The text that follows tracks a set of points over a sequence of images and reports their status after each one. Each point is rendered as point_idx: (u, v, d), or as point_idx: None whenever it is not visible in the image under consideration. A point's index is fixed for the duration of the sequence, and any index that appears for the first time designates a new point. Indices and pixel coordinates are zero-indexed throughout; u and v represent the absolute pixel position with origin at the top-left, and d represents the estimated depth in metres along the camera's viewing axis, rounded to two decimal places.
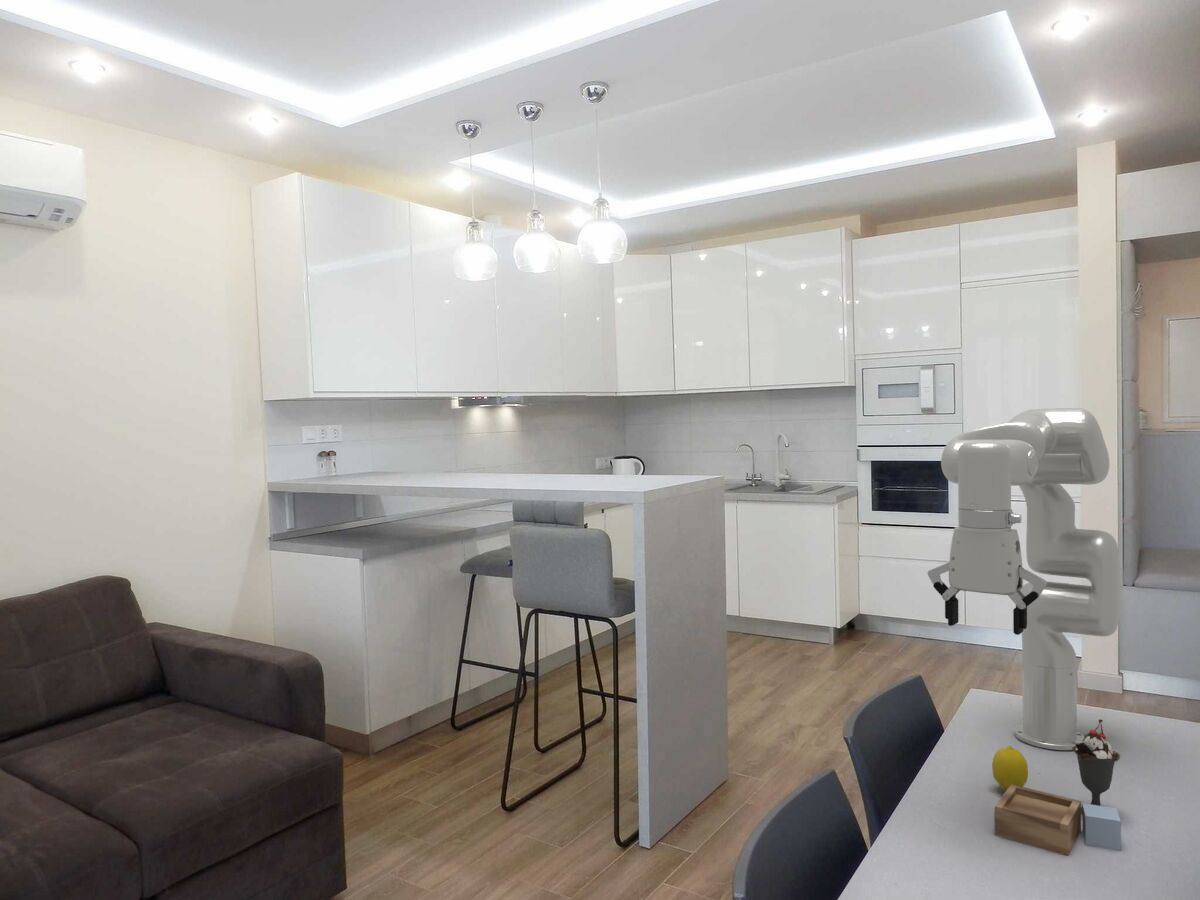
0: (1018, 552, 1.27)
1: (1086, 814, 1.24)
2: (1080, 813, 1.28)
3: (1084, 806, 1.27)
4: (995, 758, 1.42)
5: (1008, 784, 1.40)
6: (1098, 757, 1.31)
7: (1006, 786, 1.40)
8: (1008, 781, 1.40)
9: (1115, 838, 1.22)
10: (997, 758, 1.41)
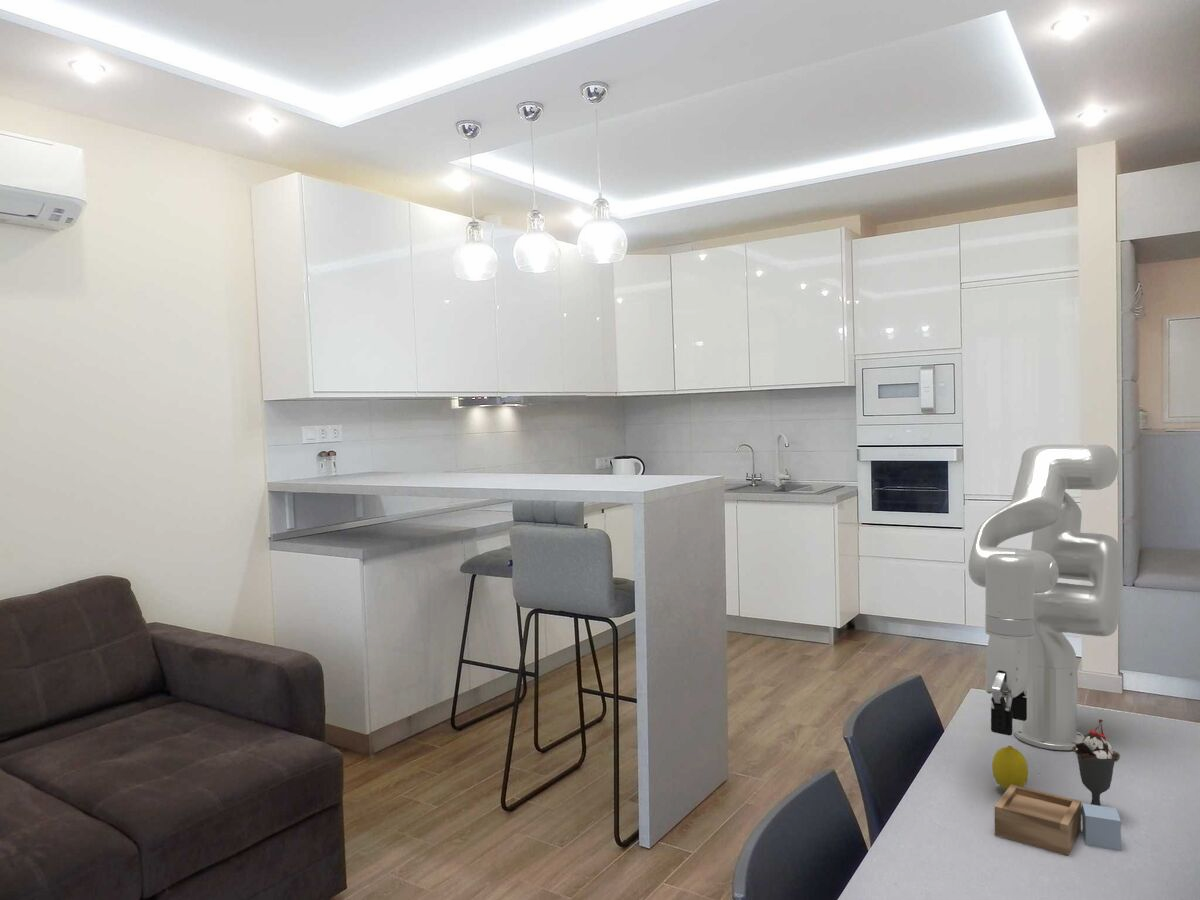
0: None
1: (1086, 814, 1.24)
2: (1080, 813, 1.28)
3: (1084, 806, 1.27)
4: (995, 758, 1.42)
5: (1008, 784, 1.40)
6: (1098, 757, 1.31)
7: (1006, 786, 1.40)
8: (1007, 781, 1.40)
9: (1115, 838, 1.22)
10: (997, 758, 1.41)
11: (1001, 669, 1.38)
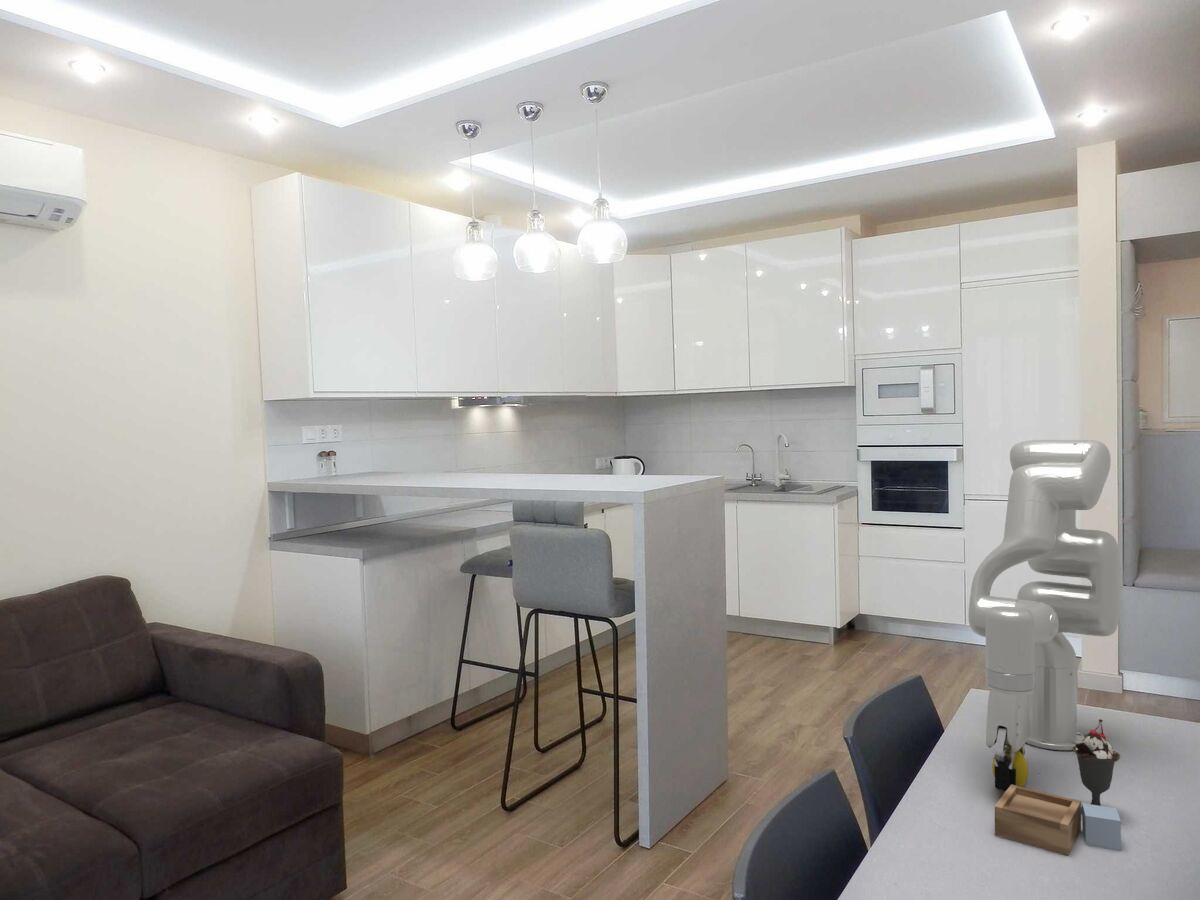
0: None
1: (1086, 814, 1.24)
2: (1080, 813, 1.28)
3: (1084, 806, 1.27)
4: None
5: None
6: (1098, 757, 1.31)
7: None
8: None
9: (1115, 838, 1.22)
10: None
11: (1002, 724, 1.38)
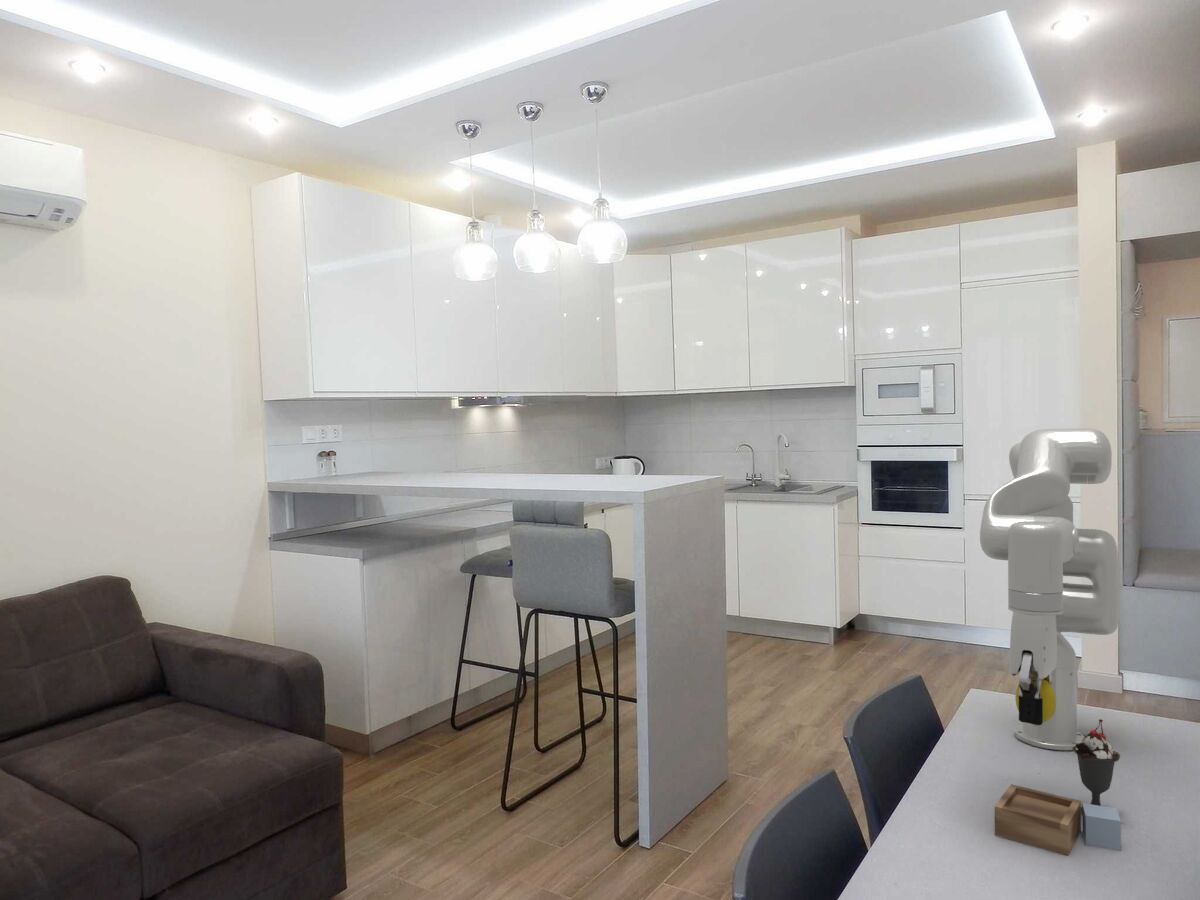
0: None
1: (1086, 814, 1.24)
2: (1080, 813, 1.28)
3: (1084, 806, 1.27)
4: (1018, 688, 1.28)
5: None
6: (1098, 757, 1.31)
7: None
8: None
9: (1115, 838, 1.22)
10: None
11: (1027, 649, 1.24)
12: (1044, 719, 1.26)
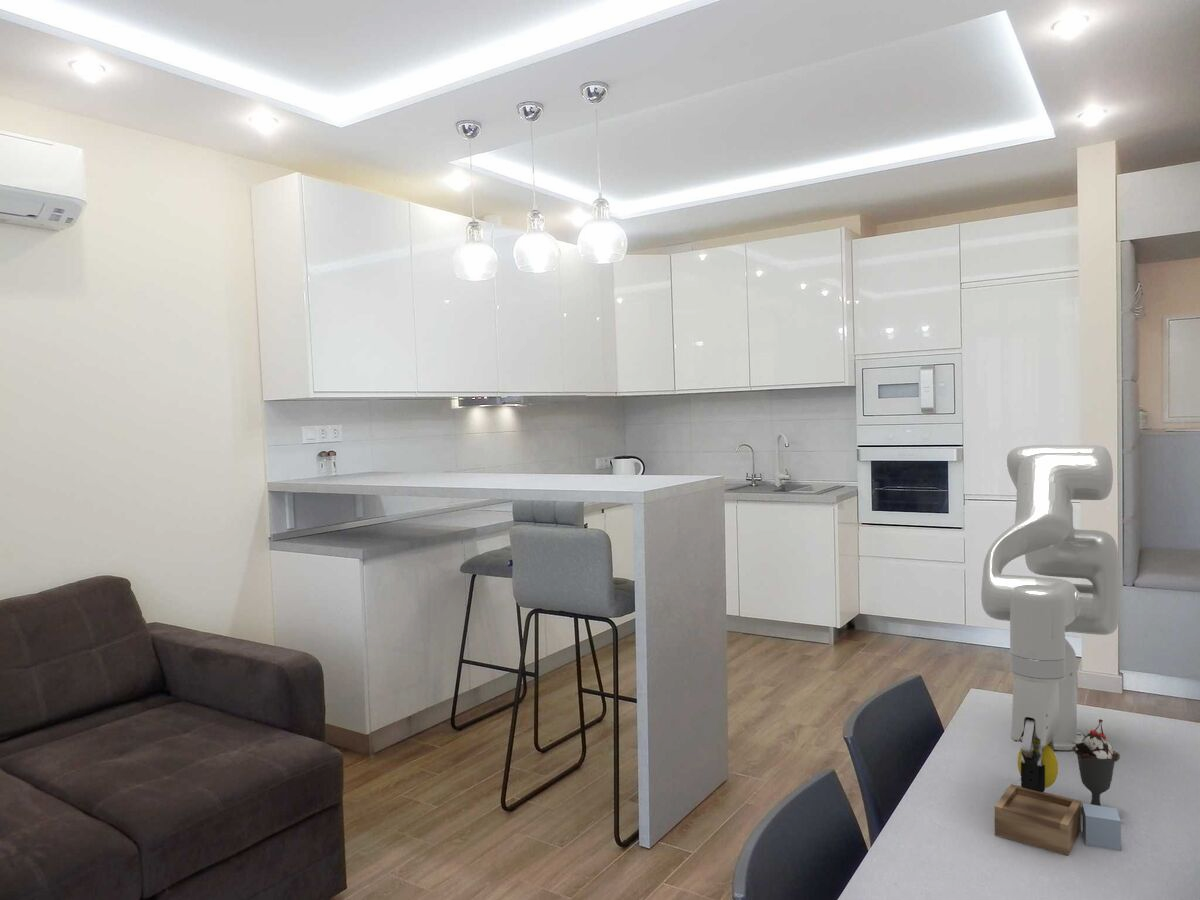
0: None
1: (1086, 814, 1.24)
2: (1080, 813, 1.28)
3: (1084, 806, 1.27)
4: (1021, 753, 1.28)
5: None
6: (1098, 757, 1.31)
7: None
8: None
9: (1115, 838, 1.22)
10: None
11: (1029, 716, 1.23)
12: (1046, 785, 1.25)
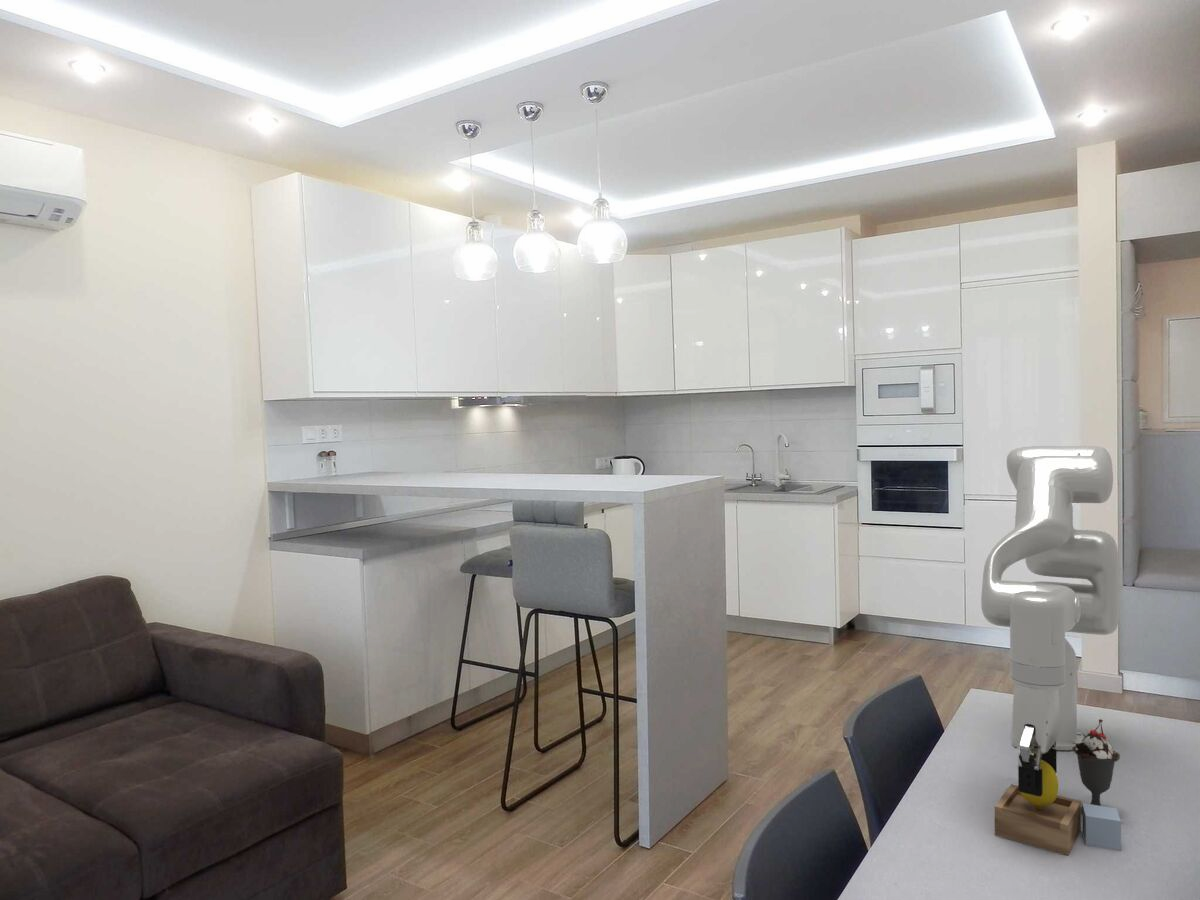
0: None
1: (1086, 814, 1.24)
2: (1080, 813, 1.28)
3: (1084, 806, 1.27)
4: None
5: (1037, 800, 1.26)
6: (1098, 757, 1.31)
7: (1034, 803, 1.26)
8: (1036, 796, 1.26)
9: (1115, 838, 1.22)
10: None
11: (1029, 723, 1.23)
12: (1047, 804, 1.26)
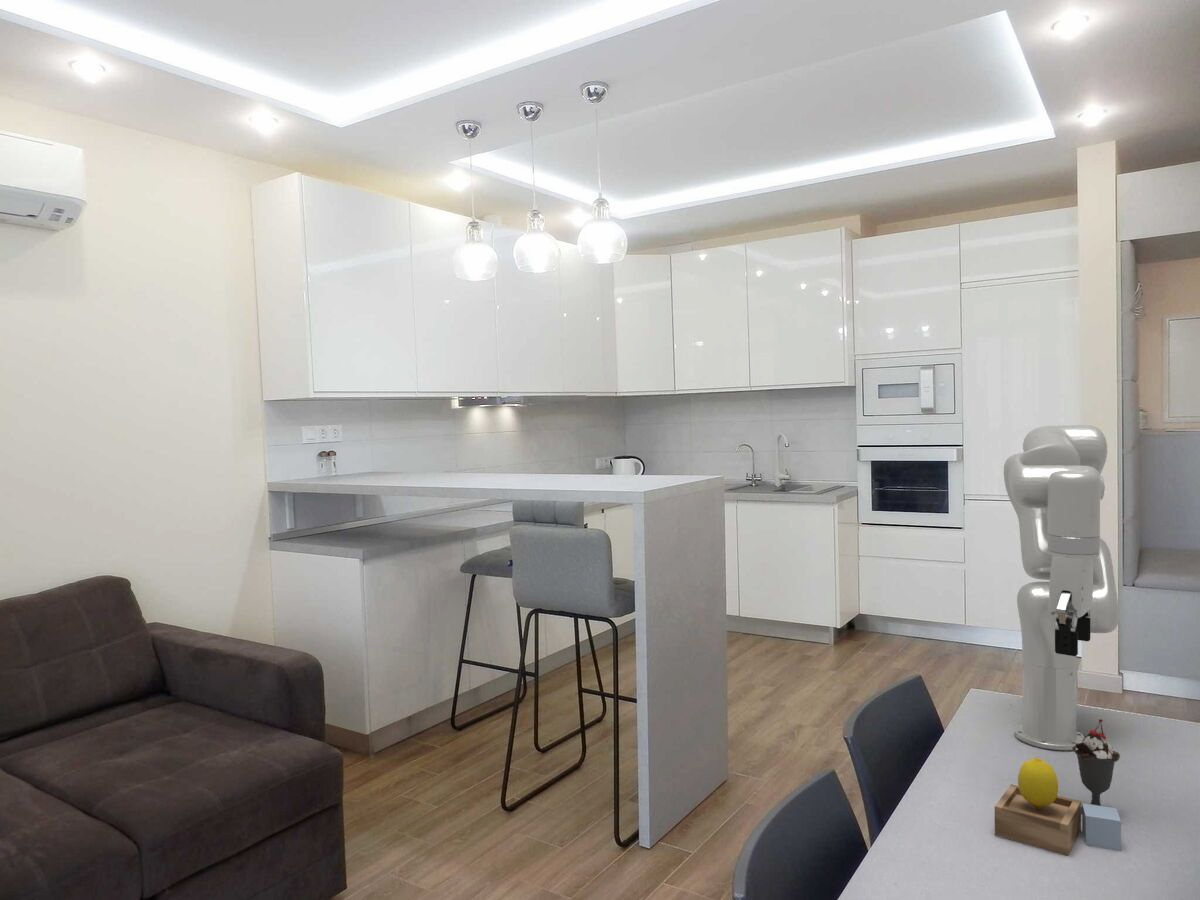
0: None
1: (1086, 814, 1.24)
2: (1080, 813, 1.28)
3: (1084, 806, 1.27)
4: (1021, 771, 1.28)
5: (1037, 800, 1.26)
6: (1098, 757, 1.31)
7: (1034, 803, 1.26)
8: (1036, 797, 1.26)
9: (1115, 838, 1.22)
10: (1024, 771, 1.27)
11: (1066, 589, 1.33)
12: (1047, 804, 1.26)
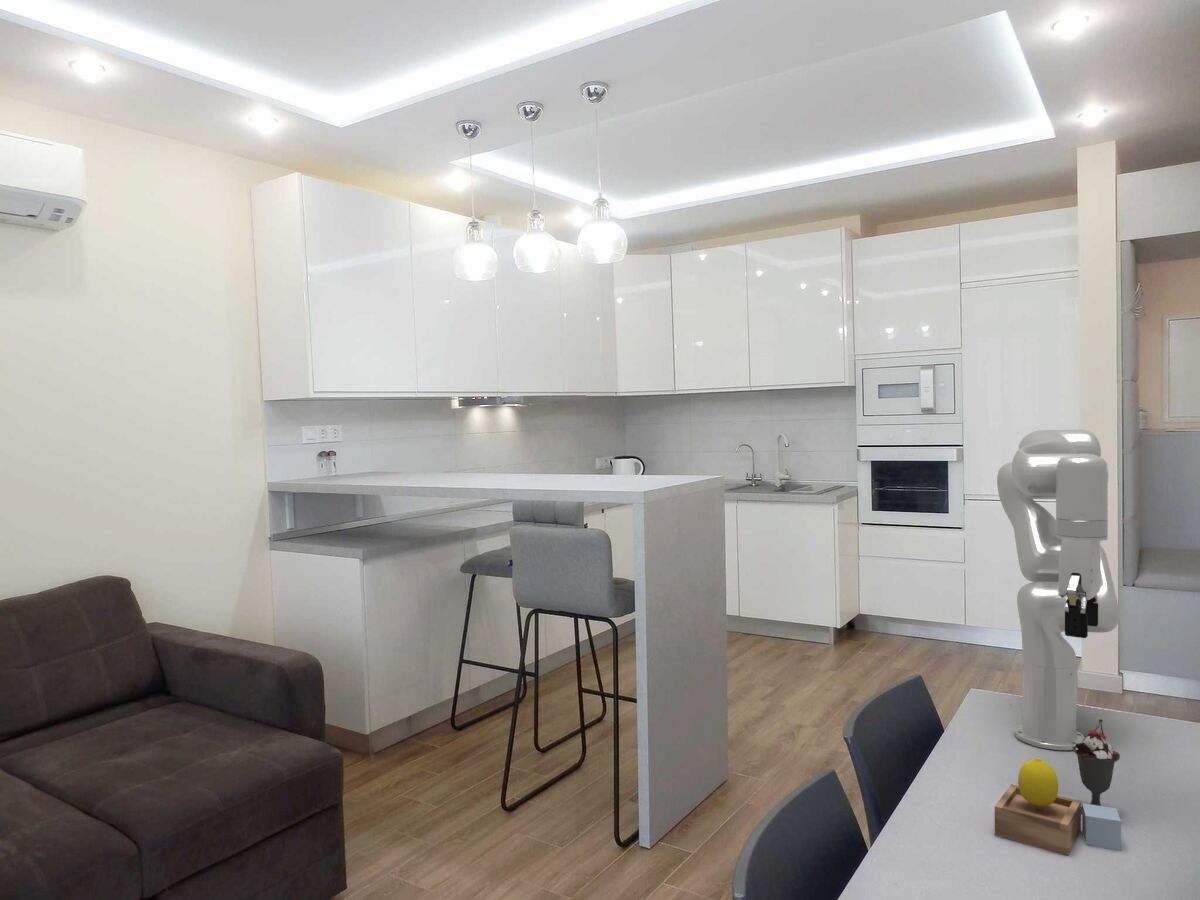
0: None
1: (1086, 814, 1.24)
2: (1080, 813, 1.28)
3: (1084, 806, 1.27)
4: (1021, 771, 1.28)
5: (1037, 800, 1.26)
6: (1098, 757, 1.31)
7: (1034, 803, 1.26)
8: (1036, 797, 1.26)
9: (1115, 838, 1.22)
10: (1024, 771, 1.27)
11: (1075, 571, 1.35)
12: (1047, 804, 1.26)
